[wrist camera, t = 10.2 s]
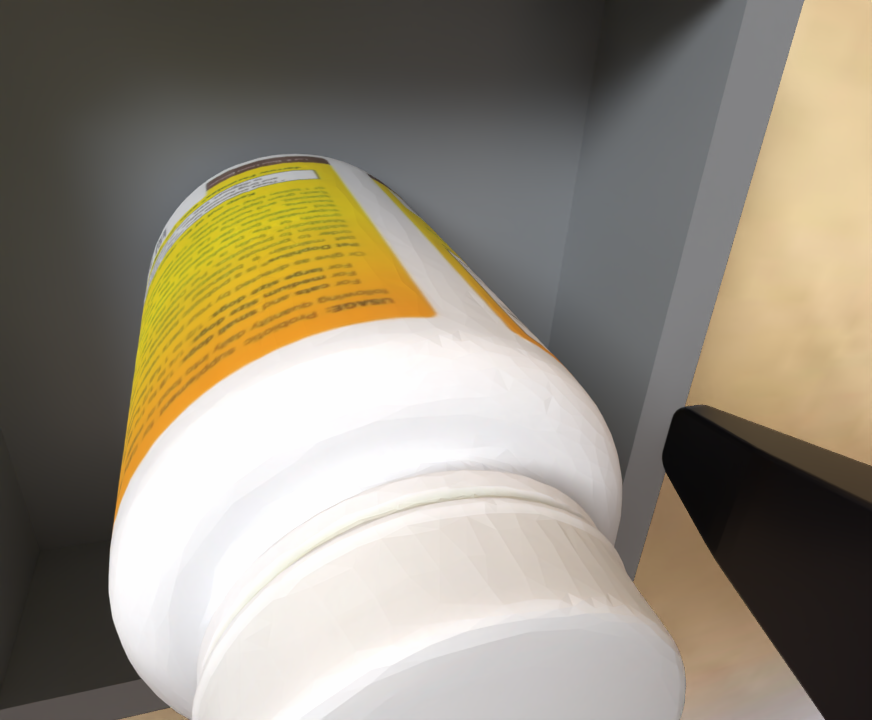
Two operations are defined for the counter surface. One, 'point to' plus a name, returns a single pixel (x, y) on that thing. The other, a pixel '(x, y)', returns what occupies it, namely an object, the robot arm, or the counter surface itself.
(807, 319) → the counter surface
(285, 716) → the supplement bottle
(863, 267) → the counter surface
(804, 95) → the counter surface
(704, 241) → the box
